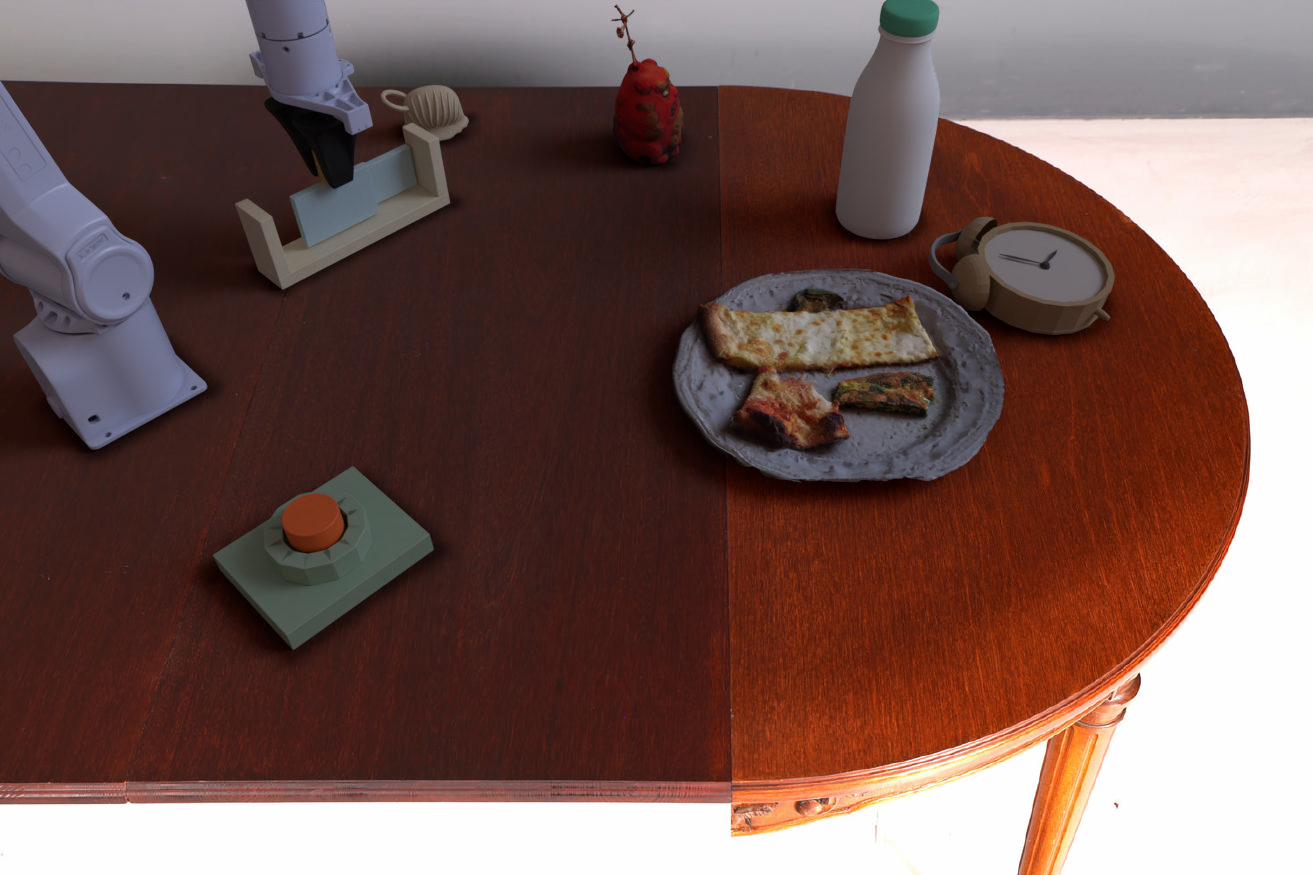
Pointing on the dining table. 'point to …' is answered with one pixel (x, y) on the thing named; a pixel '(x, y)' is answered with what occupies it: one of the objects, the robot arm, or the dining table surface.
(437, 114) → the decorative ornament
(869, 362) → the food plate
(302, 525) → the button
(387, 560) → the button block
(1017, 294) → the alarm clock
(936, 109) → the milk bottle
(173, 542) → the dining table surface
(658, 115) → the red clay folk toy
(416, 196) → the window frame
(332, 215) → the blue panel with knob
